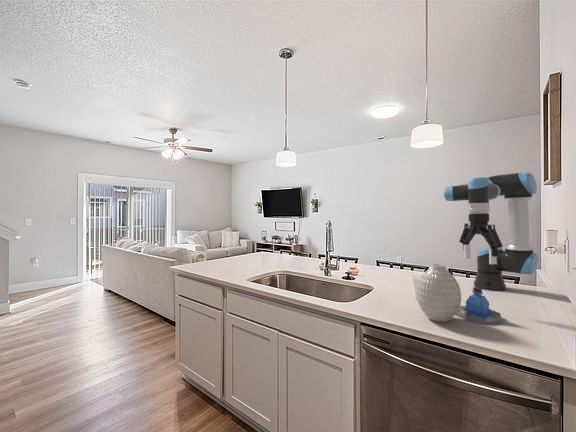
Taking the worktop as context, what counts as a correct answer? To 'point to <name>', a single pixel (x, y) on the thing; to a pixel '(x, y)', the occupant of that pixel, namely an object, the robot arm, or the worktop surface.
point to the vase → (438, 294)
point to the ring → (491, 319)
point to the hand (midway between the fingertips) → (479, 261)
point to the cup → (414, 283)
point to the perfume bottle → (477, 303)
